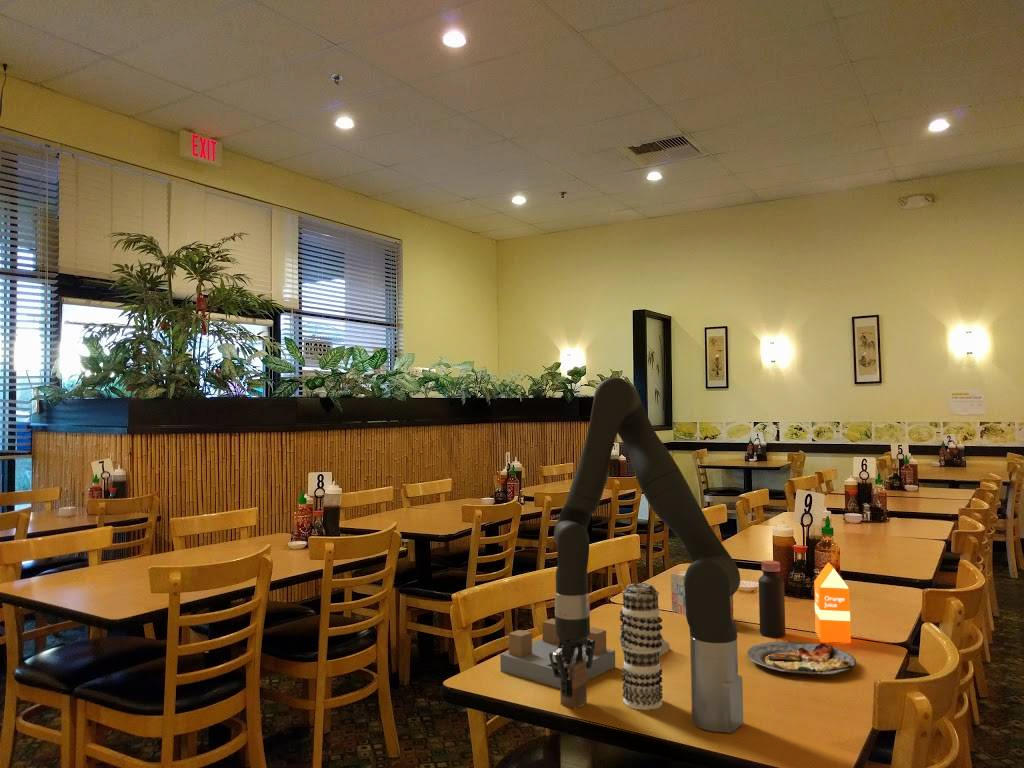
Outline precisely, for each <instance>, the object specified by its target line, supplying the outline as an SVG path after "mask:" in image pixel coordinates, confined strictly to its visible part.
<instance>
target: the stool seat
mask: <svg viewBox="0 0 1024 768" xmlns="http://www.w3.org/2000/svg"><path fill="white" fill-rule="evenodd" d="M541 624H542V627H541V628H542V638H541V639H538V640H535V641H533V633H532V632H530V631H526V630H522V629H517V630H514V631H512V632H509V633H508V651H506V652H503V653H500V665H499V666H500V672H502V673H505V674H509V675H513V676H515V677H519V676H520V678H523V677H524V678H523V679H526V678H527V679H526V680H529V679H530V681H533V680H534V681H533V682H536V681H537V683H539V682H540V684H543V685H546V684H547V686H549V685H551V686H550V687H553V686H554V687H553V688H556V687H557V689H560V678H556V677H554V673H553V669H552V665H551V661H550V657H549V654H550V652H555V651H556V650H557V649H558V644H559V638H558V636H557V635H556V634H555V618H553V617H552V618H550V619H547V620H543V621H542V622H541ZM587 639H591V640H594V641H595V648H594V654H593V660H592V666H591V668H588V669H587V672H586V682H587V681H589V680H591V679H593V678H595V677H597V676H599V675H601V673H602V674H603V672H604V673H606V672H608V671H610V670H612V669H614V668H616V650H614V649H610V648H607V630H606V629H602V628H598V627H590V635H589V636H588V637H587ZM586 658H587V661H588V656H586ZM609 669H610V670H609ZM607 670H608V671H607ZM605 671H606V672H605ZM559 672H560V671H559ZM594 676H595V677H594ZM590 678H591V679H590ZM588 679H589V680H588Z"/></svg>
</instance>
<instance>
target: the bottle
mask: <svg viewBox="0 0 1024 768" xmlns="http://www.w3.org/2000/svg"><path fill="white" fill-rule="evenodd" d="M761 571H762V575H761V576H760V577H759V578H758V607H759V608H758V610H759V612H758V613H759V634H761V635H762V636H764V637H768V638H774V637H775V638H777V639H778V638H783V637H785V636H786V607H785V605H786V604H785V603H786V602H785V581H784V579H783V578H782V577H781V575H780V573H781V562H780V561H776V560H763V561H761Z"/></svg>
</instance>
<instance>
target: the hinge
mask: <svg viewBox="0 0 1024 768" xmlns="http://www.w3.org/2000/svg"><path fill="white" fill-rule="evenodd" d="M659 631H660V632H659ZM659 631H658V633H659V634H660V635H661V636H662V639H660V640H658V641H660V642H661V643H662V646H661V650H660V651H659V658H660V657H661V656H663V655H664V654H665V652H666V651H667V652H669V651H670V650H671V647H670V644H669V642H668V641H667V640H665V639H664V637H663V634H662V633H661V630H659ZM621 632H622V631H621ZM621 632H620V633H619V641H620V645H621V648H622V641H623V638H622V637H621ZM624 636H625V634H624ZM669 649H670V650H669ZM668 650H669V651H668ZM667 652H666V653H667ZM622 653H623V655H624V649H623V648H622ZM662 654H663V655H662Z"/></svg>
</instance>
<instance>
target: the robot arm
mask: <svg viewBox="0 0 1024 768" xmlns="http://www.w3.org/2000/svg"><path fill="white" fill-rule="evenodd" d="M617 435H618V436H619V438H620V439H621V441H622V442H623V444H624V446H625V449H626V451H627V454H628V456H629V459H630V460H629V461H630V464H631V467H632V471H633V472H634V476H635V478H636V482H638V485H639V487H640V490H641V492H642V493H643V495H644V497H645V499H646V501H647V503H648V505H649V506H650V508H651V509H652V511H653V512H654V514H655V515H656V516H657V517H658V519H660V520H661V522H663V523H664V524H665V525H666V526H667V527H668V529H670V530H671V531H672V532H673V533H674V534H675V536H676V537H677V538H678V539H679V540H680V543H681V544H682V545H683V548H685V550H686V552H687V554H688V556H689V559H690V560H691V563H690V565H688V567H687V569H686V570H685V571H686V574H685V583H684V587H685V606H686V616H685V618H686V622H687V624H688V627H689V640H690V641H689V646H690V647H689V648H690V649H689V651H690V690H691V695H690V696H691V721H692V723H693V725H695V726H696V727H697V728H700V729H701V730H705V731H709V732H715V733H726V734H732V733H733V732H735V731H736V730H737V729H738V728H740V727H741V726H743V725H744V704H743V703H744V699H743V696H744V693H743V692H744V691H743V689H744V687H743V677H742V676H743V675H740V674H739V667H738V666H739V665H738V664H739V663H738V661H739V659H738V658H739V657H738V627H737V624H736V622H735V621H734V620H733V621H732V619H731V608H730V596H732V595H733V596H734V594H736V592H737V591H738V589H740V588H739V587H740V585H741V574H740V571H739V568H738V566H737V564H736V562H735V561H734V559H733V558H732V556H731V555H730V553H729V552H728V550H727V549H726V548H725V545H723V543H722V542H721V540H720V539H719V537H718V536H717V534H716V533H715V532H714V530H713V528H712V527H711V525H710V522H709V521H708V520H707V517H706V516H705V514H704V511H703V510H702V508H701V506H700V504H699V502H698V500H697V499H696V497H695V495H694V494H693V492H692V489H691V487H690V486H689V484H688V482H687V480H686V478H685V476H684V474H683V473H682V471H681V469H680V467H679V466H678V464H677V463H676V461H675V459H674V457H673V456H672V454H671V453H670V451H669V450H668V448H667V447H666V446H665V444H664V442H662V440H661V438H660V437H659V436H658V434H657V433H656V431H655V429H654V427H653V425H652V423H651V421H650V418H649V416H648V414H647V412H646V409H645V407H644V404H643V401H642V400H641V396H640V394H639V392H638V391H637V389H636V388H635V387H634V386H633V385H632V384H631V383H630V382H628V381H627V380H625V379H623V378H621V377H613V376H612V377H609V378H606V379H604V380H603V381H601V382H600V384H598V386H597V387H596V389H595V391H594V397H593V401H592V406H591V414H590V420H589V424H588V429H587V434H586V438H585V440H584V441H585V442H584V446H583V449H582V452H581V455H580V459H579V461H578V465H577V468H576V471H575V474H574V476H573V479H572V482H571V485H570V488H569V491H568V494H567V498H566V502H565V504H564V505H563V508H562V509H561V512H560V514H559V516H558V519H557V520H556V524H555V526H554V530H553V539H554V542H555V544H556V549H557V550H556V551H557V567H556V569H555V597H554V598H555V599H554V619H555V634H556V635H557V636H558V638H559V644H558V649H557V650H556V651H555V652H550V654H549V657H550V661H551V665H552V669H553V673H554V677H556V678H560V679H561V691H560V693H561V692H562V695H563V696H564V697H568V698H570V697H572V680H571V678H572V669H573V668H574V665H575V663H576V661H577V660H581V661H586V672H587V669H588V668H591V666H592V660H593V654H594V648H595V641H594V640H591V639H587V637H588V636H589V635H590V628H591V622H590V621H591V618H590V617H591V616H590V615H591V614H590V613H591V612H590V607H591V606H590V598H589V578H588V577H589V575H588V566H589V557H590V537H589V533H588V526H589V525H590V521H591V519H592V517H593V514H595V512H596V511H597V510H598V507H599V506H600V502H601V499H602V497H603V494H604V490H605V487H606V484H607V480H608V477H609V471H610V464H611V459H612V452H613V448H614V444H615V440H616V437H617ZM586 656H588V661H587V658H586ZM565 661H566V662H570V664H566V663H565ZM565 668H567V669H568V671H567V673H566V671H565ZM559 671H560V672H559Z"/></svg>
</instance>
